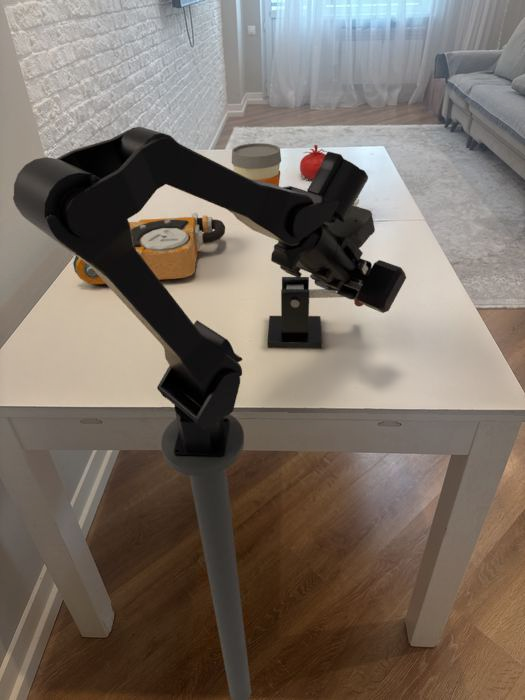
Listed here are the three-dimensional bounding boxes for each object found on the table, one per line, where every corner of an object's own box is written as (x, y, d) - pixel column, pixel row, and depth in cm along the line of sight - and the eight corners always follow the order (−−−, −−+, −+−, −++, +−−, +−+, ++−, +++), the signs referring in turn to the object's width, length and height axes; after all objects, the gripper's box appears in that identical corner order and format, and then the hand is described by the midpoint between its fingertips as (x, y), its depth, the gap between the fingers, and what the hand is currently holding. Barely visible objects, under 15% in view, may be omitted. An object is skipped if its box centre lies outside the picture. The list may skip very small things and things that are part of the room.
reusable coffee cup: (232, 217, 126) (227, 157, 117) (237, 199, 136) (233, 143, 127) (280, 217, 125) (280, 156, 116) (282, 199, 135) (282, 142, 126)
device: (91, 209, 111) (223, 202, 112) (100, 243, 116) (226, 236, 117) (65, 253, 93) (223, 245, 94) (77, 291, 98) (226, 283, 99)
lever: (360, 289, 82) (361, 276, 80) (364, 308, 77) (365, 295, 75) (287, 291, 83) (286, 278, 81) (286, 310, 78) (286, 297, 76)
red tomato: (310, 184, 144) (311, 152, 139) (293, 175, 152) (293, 144, 146) (338, 178, 148) (340, 146, 142) (320, 170, 155) (321, 139, 149)
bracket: (320, 321, 87) (322, 272, 81) (321, 348, 81) (324, 297, 75) (269, 321, 88) (268, 272, 82) (267, 348, 81) (265, 297, 75)
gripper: (409, 211, 59) (438, 262, 72) (292, 179, 69) (335, 228, 82) (365, 294, 59) (401, 329, 72) (255, 249, 70) (304, 287, 82)
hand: (358, 289), depth 77 cm, fingers closed
